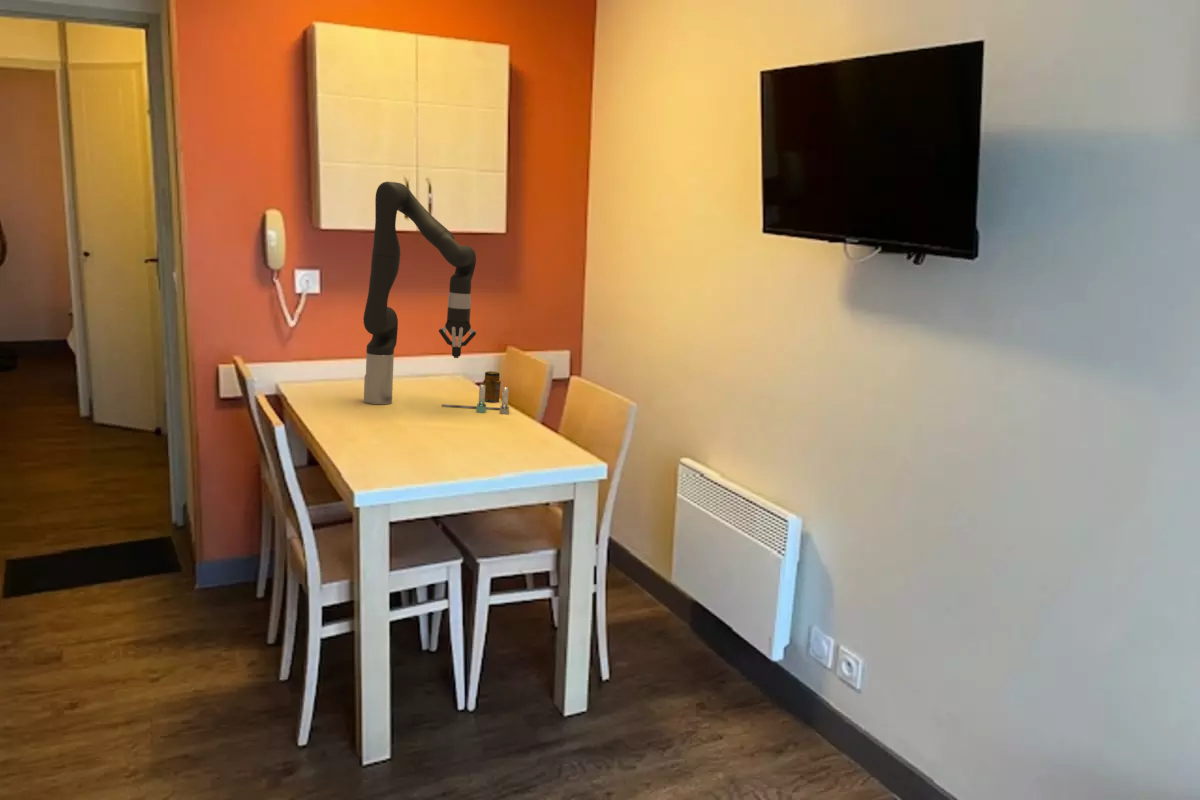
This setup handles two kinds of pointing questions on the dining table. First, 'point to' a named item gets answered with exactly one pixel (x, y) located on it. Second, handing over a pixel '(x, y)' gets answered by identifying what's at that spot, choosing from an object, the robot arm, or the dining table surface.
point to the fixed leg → (504, 401)
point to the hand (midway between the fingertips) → (456, 357)
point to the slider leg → (481, 400)
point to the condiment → (492, 387)
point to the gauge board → (468, 407)
